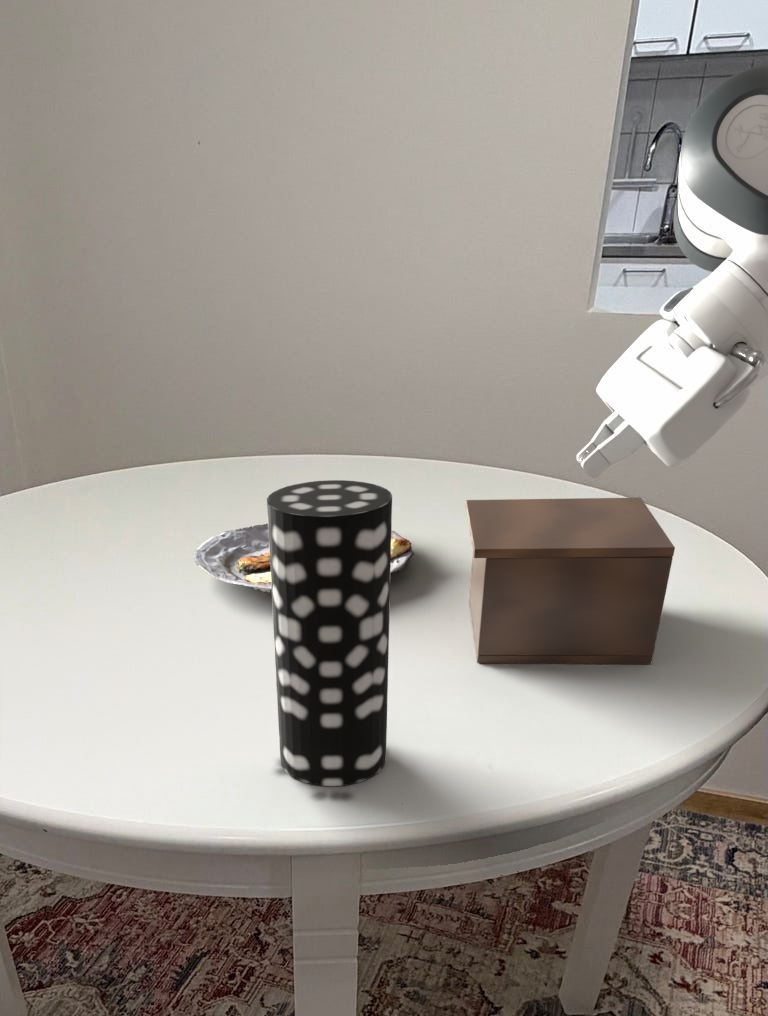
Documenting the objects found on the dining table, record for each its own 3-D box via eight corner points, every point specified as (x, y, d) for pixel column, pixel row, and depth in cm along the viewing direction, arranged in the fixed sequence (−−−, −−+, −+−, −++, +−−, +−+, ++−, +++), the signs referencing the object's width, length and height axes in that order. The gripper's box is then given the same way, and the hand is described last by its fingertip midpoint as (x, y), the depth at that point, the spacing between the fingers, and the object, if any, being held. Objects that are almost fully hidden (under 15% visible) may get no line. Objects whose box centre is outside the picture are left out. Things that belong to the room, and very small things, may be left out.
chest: (476, 663, 88) (485, 558, 82) (468, 603, 100) (476, 508, 94) (651, 664, 86) (673, 557, 80) (622, 603, 98) (639, 506, 92)
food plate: (349, 524, 123) (349, 496, 121) (452, 577, 106) (454, 546, 104) (167, 560, 114) (164, 530, 112) (248, 624, 97) (245, 591, 95)
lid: (474, 558, 82) (474, 549, 82) (465, 508, 94) (466, 499, 93) (673, 556, 80) (675, 547, 80) (639, 505, 92) (640, 497, 92)
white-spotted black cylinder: (277, 787, 72) (262, 518, 60) (283, 733, 78) (270, 482, 67) (388, 786, 71) (394, 514, 59) (384, 732, 78) (389, 478, 66)
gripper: (797, 391, 68) (634, 532, 75) (710, 346, 85) (583, 464, 91) (748, 323, 66) (585, 474, 72) (669, 290, 82) (541, 416, 89)
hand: (583, 468), depth 82 cm, fingers closed
